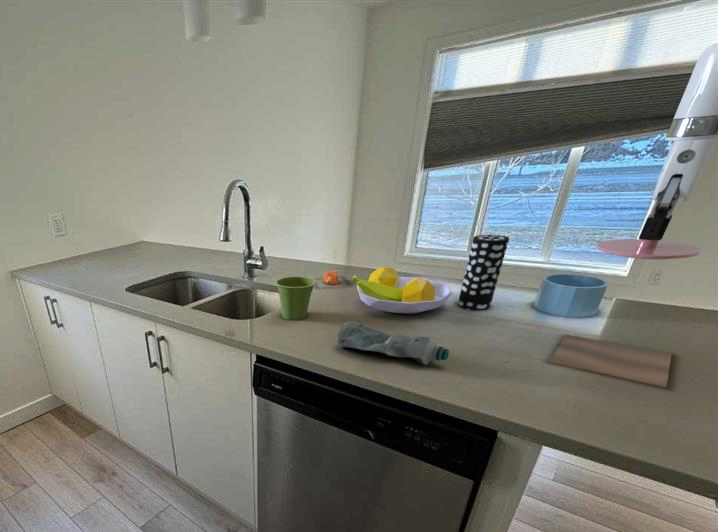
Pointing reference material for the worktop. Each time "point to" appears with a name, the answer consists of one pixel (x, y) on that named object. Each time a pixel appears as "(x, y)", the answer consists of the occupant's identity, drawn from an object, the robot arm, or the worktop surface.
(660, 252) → the pink lid with handle
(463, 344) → the worktop surface
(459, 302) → the spotted tube
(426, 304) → the fruit bowl
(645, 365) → the wooden cutting board
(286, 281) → the plant pot
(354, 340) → the crushed plastic bottle
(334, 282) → the raw meat
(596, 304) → the bowl
